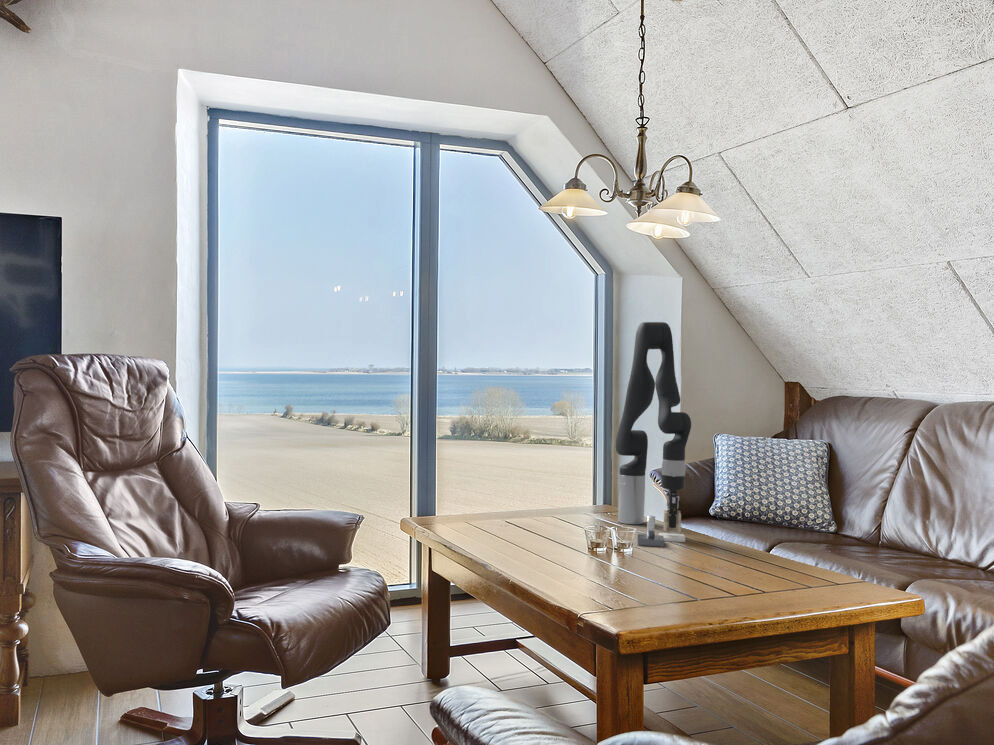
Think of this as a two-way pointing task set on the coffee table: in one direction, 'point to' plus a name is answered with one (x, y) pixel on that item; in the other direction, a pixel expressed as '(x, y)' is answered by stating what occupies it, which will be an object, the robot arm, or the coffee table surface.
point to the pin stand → (650, 535)
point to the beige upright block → (666, 522)
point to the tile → (673, 537)
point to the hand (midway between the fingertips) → (671, 525)
